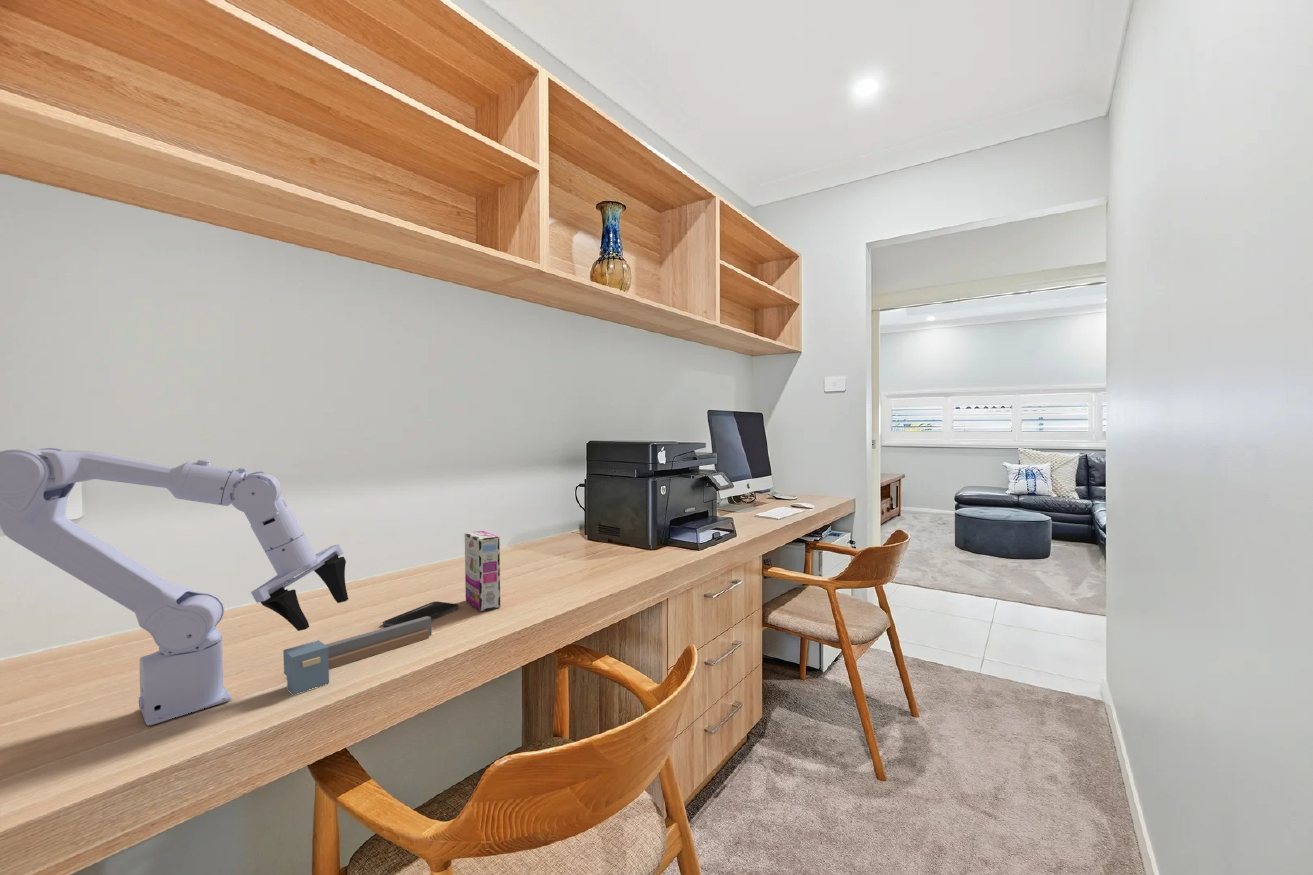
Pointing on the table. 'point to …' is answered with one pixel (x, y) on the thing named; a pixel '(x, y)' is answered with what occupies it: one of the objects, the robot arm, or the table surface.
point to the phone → (423, 613)
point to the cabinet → (306, 666)
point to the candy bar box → (482, 570)
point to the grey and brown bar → (378, 641)
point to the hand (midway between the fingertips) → (324, 614)
